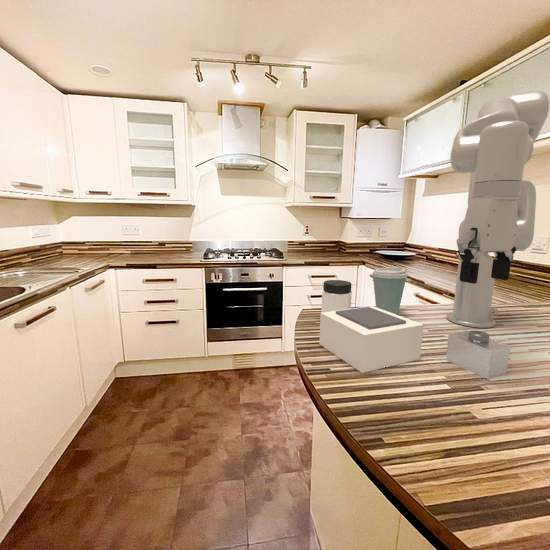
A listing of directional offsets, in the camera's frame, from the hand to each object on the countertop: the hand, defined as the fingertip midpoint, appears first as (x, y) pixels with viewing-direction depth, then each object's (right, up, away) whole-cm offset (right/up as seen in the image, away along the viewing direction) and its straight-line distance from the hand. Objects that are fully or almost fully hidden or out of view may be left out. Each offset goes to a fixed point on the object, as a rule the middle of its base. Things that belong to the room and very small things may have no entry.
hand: (484, 280), depth 63 cm
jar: (-24, -13, +31) cm, 42 cm away
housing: (0, -18, +3) cm, 19 cm away
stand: (-21, -17, +10) cm, 28 cm away
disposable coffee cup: (-5, -12, +40) cm, 42 cm away
